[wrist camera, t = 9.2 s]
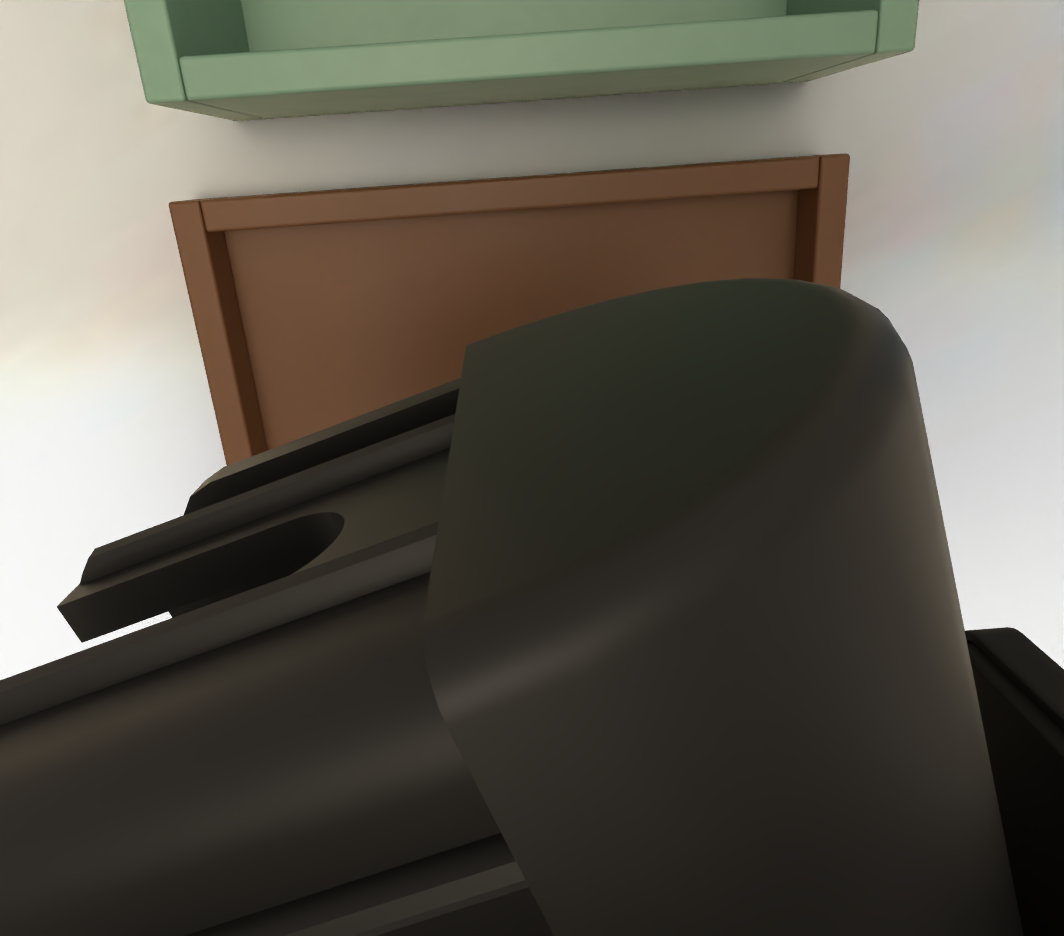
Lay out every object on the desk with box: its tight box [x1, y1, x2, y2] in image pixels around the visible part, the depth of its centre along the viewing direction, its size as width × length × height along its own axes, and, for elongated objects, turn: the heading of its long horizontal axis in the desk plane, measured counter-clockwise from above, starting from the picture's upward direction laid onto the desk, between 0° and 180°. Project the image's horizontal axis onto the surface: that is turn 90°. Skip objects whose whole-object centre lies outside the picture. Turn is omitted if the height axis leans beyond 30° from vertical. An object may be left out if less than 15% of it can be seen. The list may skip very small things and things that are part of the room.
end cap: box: [0, 278, 1024, 936], centre depth 8 cm, size 10×7×7 cm
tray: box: [169, 154, 850, 466], centre depth 23 cm, size 18×15×2 cm
